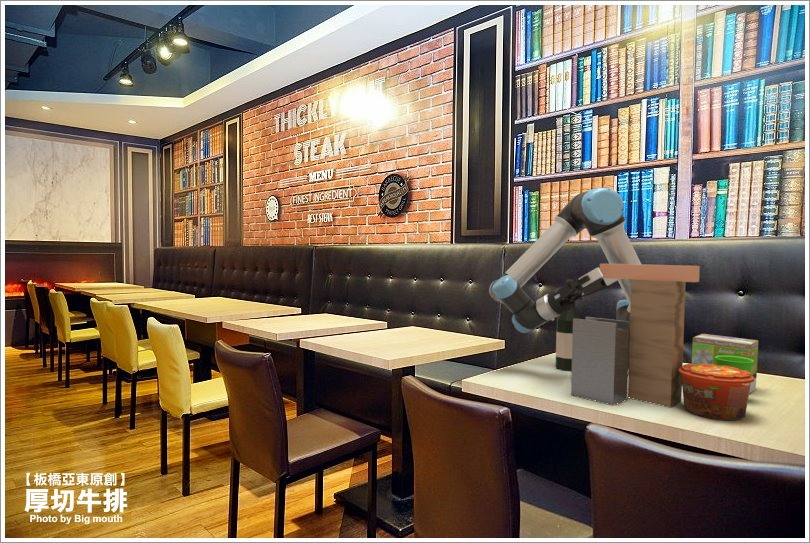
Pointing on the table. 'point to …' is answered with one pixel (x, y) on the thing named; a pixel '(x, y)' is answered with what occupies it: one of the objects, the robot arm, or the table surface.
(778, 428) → the table surface
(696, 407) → the food container
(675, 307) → the post
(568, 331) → the wine bottle
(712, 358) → the tea box
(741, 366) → the cup
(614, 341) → the block
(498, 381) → the table surface
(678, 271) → the bar
